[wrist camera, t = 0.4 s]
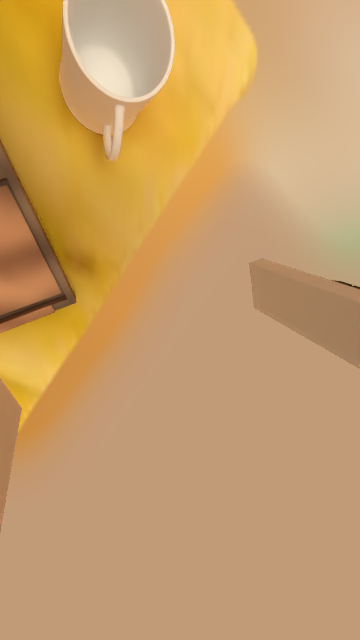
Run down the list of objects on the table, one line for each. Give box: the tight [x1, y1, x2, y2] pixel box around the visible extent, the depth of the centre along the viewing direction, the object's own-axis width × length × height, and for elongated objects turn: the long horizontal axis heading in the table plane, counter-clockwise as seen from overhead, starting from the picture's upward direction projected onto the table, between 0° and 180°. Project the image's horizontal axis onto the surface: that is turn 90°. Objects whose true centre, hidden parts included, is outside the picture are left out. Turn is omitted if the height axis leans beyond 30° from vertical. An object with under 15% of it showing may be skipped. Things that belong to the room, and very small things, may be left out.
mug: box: [59, 0, 175, 161], centre depth 26 cm, size 12×8×12 cm
